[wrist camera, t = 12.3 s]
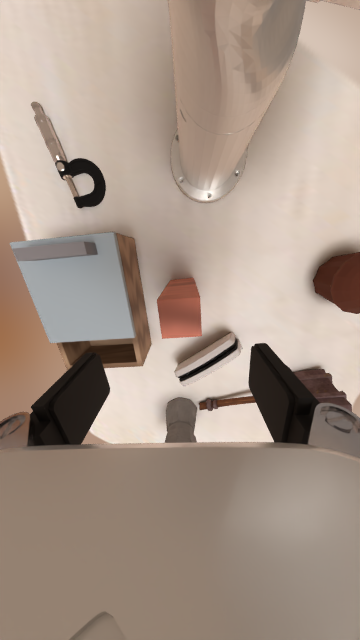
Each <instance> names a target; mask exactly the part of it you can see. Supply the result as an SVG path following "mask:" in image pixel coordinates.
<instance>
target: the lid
mask: <svg viewBox="0 0 360 640" xmlns="http://www.w3.org/2000/svg"><path fill="white" fill-rule="evenodd" d="M10 245H11V248H12V250H13V252H14V255H15V257H16V260H17V262H18V265H19V267H20V270H21V272H22V275H23V277H24V279H25V282H26V285H27V287H28V289H29V292H30V294H31V297H32V299H33V302H34V304H35V307H36V309H37V312H38V314H39V317H40V319H41V322H42V324H43V326H44V329H45V331H46V334H47V336H48V339H49V341H50V343H59V342H75V341H91V340H107V339H124V338H135V336H136V332H135V327H134V322H133V317H132V312H131V307H130V302H129V297H128V292H127V287H126V282H125V277H124V272H123V266H122V261H121V256H120V251H119V246H118V241H117V236H116V233H115V232H107V233H98V234H88V235H79V236H69V237H59V238H50V239H40V240H31V241H21V242H12V243H10Z"/></svg>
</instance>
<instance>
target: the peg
mask: <svg viewBox="0 0 360 640" xmlns="http://www.w3.org/2000/svg"><path fill="white" fill-rule="evenodd" d="M157 305H158V312H159V319H160V326H161V334H162V339H164V338H180V337H196V336H202V331H201V309H200V296H199V292H198V289H197V286H196V283H195V280H194V278H187V279H175V280H170V282H169V283H168V284H167V286H166V287H165V289H164V290H163V292H162V293H161V295H160V296H159V298H158V299H157Z"/></svg>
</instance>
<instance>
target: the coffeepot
mask: <svg viewBox="0 0 360 640" xmlns="http://www.w3.org/2000/svg"><path fill="white" fill-rule="evenodd" d="M196 413H197V408H196V406H195V405H194V403H193V402H192V401H191V400H189V399H186V398H176V399H173V400H171V401H170V402H168V405H167V409H166V422H167V431H168V433H167V436H166V440H165V443H197V442H196V437H195V436H194V428H195V421H196Z"/></svg>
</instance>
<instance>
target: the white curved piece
mask: <svg viewBox="0 0 360 640" xmlns="http://www.w3.org/2000/svg"><path fill="white" fill-rule="evenodd" d="M241 349H243V348H242V346H241V344H240V342H239V340H238V341H237V339H236V340H235V334H234V333H233V332H231V333H229V334H228V335H226V336H224V337H223V338H221V339H219V340H218V341H216V342H214V343H213V344H211V345H210V346H208V347H206V348H205V349H203V350H201V351H200V352H198V353H196V354H195V355H193V356H191V357H190V358H188V359H187V360H185V361H183V362H182V363H180V364H178V366H177V368H176V370H175V375H176V377H178V378H180V379H179V380H180V383H181V384H182V385H183V386H186V385H188V384H191V383H193V382H195V381H197V380H199V379H201V378H203V377H205V376H207V375H209V374H211V373H212V372H214V371H216V370H217V369H219V368H221V367H222V366H224V365H225V364H227V363H228V362H230V361H231V360H233V359H234V358H236V357H237V356H238V355H240V353H241Z"/></svg>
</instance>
